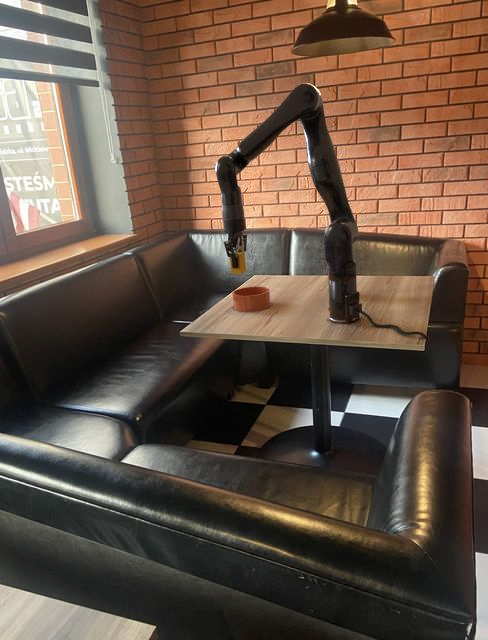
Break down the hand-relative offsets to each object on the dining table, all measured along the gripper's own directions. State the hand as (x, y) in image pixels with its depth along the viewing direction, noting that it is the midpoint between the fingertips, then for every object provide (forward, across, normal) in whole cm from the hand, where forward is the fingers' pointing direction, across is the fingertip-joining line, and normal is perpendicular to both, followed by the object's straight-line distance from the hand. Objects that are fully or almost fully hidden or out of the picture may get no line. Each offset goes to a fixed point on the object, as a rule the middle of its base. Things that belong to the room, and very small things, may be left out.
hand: (238, 266), depth 189 cm
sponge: (+2, 0, 0) cm, 2 cm away
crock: (+19, +14, +3) cm, 24 cm away
